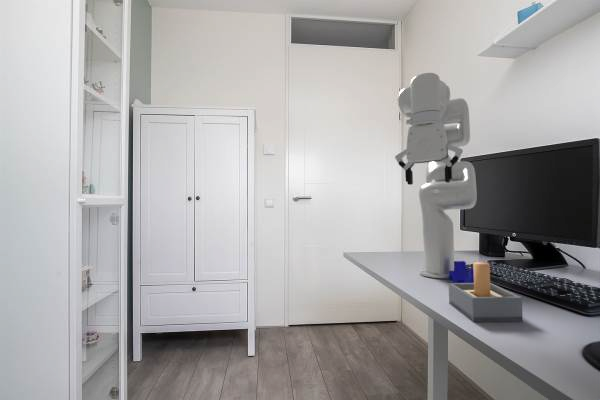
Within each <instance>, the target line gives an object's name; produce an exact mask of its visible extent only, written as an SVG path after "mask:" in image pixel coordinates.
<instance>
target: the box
mask: <svg viewBox="0 0 600 400" xmlns="http://www.w3.org/2000/svg"><path fill="white" fill-rule="evenodd" d="M490 295H491V297H476V296H475V295H474V283H454V282H453V283H452V282H451V283H450V282H449V283H448V304H449V305H451V306H452V307H453V308H454V309H456V310H457V311H458V312H460V313H461V314H462V315H463V316H465V317H466V318H468V320H470V321H471V322H472V323H506V322H508V323H509V322H510V323H513V322H515V323H517V322H518V323H520V322H523V321H524V320H523V297H522V296H519V295H517V294H515V293H513V292H511V291H509V290H507V289H504V288H503V287H500V286H498V285H496V284H495V283H494V284H493V283H492V282H490Z"/></svg>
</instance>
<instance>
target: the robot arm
mask: <svg viewBox="0 0 600 400" xmlns="http://www.w3.org/2000/svg"><path fill="white" fill-rule="evenodd" d="M440 79H441V78H440V76H439V75H438V74H437V73H436V72H435V73H434V72H424V73H420V74H417V75H415V76H414V77H412V79H411V80H410V86H408V87H404V88H402V89H401V90H400V91H399V94H398V96H397V104H398V108H399V111H400V112H401V114H403V116H404V117H406V118H409V119H406V120H405V121H406V125H409V127H408V129H407V137H406V149H404V150H402V151H401V152H400V153H398V154H396V155H395V157H394V158H395V160H396V161H397V163H398V165H399V166H400V168H402V169H403V170H404V172H405V174H404V175H405V182H406V183H407V185H410V186H411V185H413V184H414V180H413V176H414V175H413V170H412V168H413V167H414V166H415V164H425V163H426V170H425V171H426V173H425V182H426V183H424V184H422V185H420V188H419V190H418V197H419V202H420V203H419V204H420V209H421V216H422V236H423V237H422V238H423V240H422V241H423V268H420V269H419V274H420V275H421V276H423V277H427V278H432V279H450V278H449V271H454V261H455V239H454V237H455V236H454V222H453V219H452V218H451V217H450V216H449V215H448V214H447V213H446V212H445V211H449V210H468V209H469V210H470V209H473V208H474V207H475V205H476V204H477V199H478V198H477V197H478V195H477V193H478V191H477V180H476V178H477V177H476V170H475V167H474V165H473V164H472V163H471V162H470V161H465V160H461V161H459V160H460V157H461V156H462V154H463V151H464V150H463V149H462V148H460V147H464V146H467V145H468V144H469V142H470V139H471V125H470V110H469V106H468V103H467V101H466V100H465V99H464V98H460V97H459V98H453V99H451V89H450V86H449V85H447V83H446V82H444V81H443V80H440ZM452 124H453V125H452ZM449 151H451V152H454V156H453V157H451V156H450V155H449ZM405 156H406V161H407V162H406V163H405V162H404V161H403V158H404V157H405Z"/></svg>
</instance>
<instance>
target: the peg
mask: <svg viewBox="0 0 600 400" xmlns="http://www.w3.org/2000/svg"><path fill="white" fill-rule="evenodd" d="M472 263H473V264H472V267H473V269H474V295H475V296H476V297H491V295H490V283H491V272H490V271H491V270H490V265H491V264H490V263H488V262H482V261H481V262H480V261H475V262H472Z"/></svg>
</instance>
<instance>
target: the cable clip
mask: <svg viewBox="0 0 600 400" xmlns="http://www.w3.org/2000/svg"><path fill="white" fill-rule="evenodd" d="M466 264H467V263H466V261H465V260H458V261H457V260H454V271H449V278H448V279H449V281H451V282H453V283H474V269H473V268H471V267H470V268H468V270H467V265H466Z"/></svg>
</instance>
